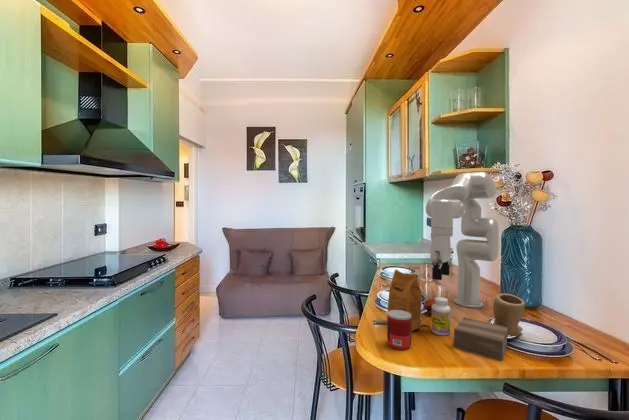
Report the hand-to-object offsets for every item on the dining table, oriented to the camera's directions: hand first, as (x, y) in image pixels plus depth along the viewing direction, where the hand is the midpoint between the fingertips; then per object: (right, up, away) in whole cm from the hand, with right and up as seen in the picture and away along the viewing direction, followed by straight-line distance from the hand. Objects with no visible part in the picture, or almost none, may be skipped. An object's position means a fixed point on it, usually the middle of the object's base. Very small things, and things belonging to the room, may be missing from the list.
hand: (441, 277), depth 111 cm
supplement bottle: (0, -21, +1) cm, 21 cm away
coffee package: (-12, -21, +6) cm, 25 cm away
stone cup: (+24, -22, -1) cm, 32 cm away
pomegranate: (+4, -21, +18) cm, 28 cm away
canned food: (-19, -22, -10) cm, 30 cm away
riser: (+10, -22, -10) cm, 25 cm away
